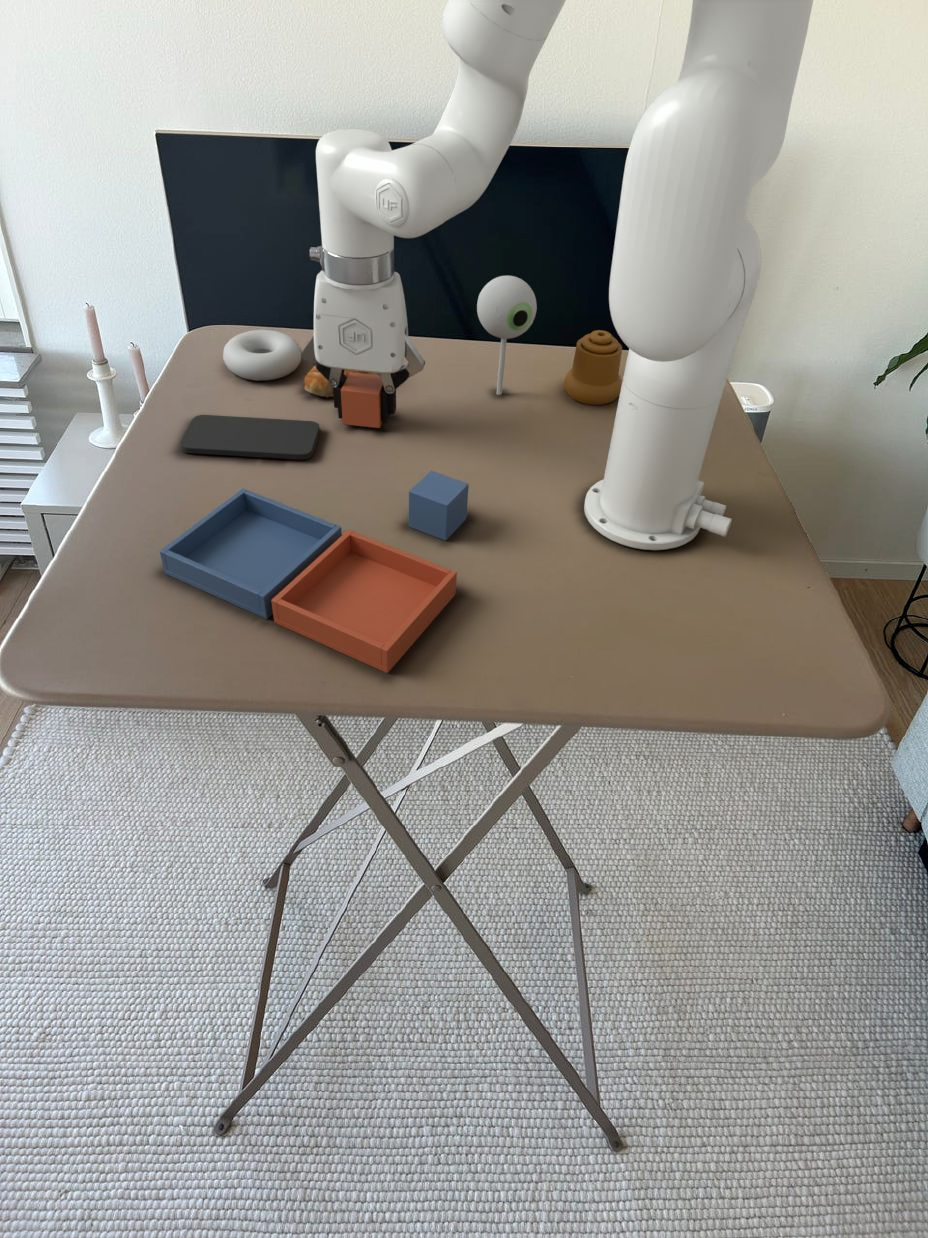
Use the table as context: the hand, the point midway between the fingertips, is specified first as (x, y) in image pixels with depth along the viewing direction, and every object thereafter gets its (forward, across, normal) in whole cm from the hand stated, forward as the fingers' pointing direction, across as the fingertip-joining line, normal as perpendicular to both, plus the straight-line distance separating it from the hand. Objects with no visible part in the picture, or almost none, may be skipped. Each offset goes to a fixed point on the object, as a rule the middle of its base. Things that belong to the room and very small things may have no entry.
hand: (365, 413), depth 106 cm
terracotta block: (0, 0, 0) cm, 0 cm away
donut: (+1, -16, +10) cm, 19 cm away
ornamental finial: (+1, +27, +14) cm, 30 cm away
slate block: (+1, +12, -18) cm, 22 cm away
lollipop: (+1, +15, +10) cm, 18 cm away
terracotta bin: (+1, +8, -33) cm, 34 cm away
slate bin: (+1, -4, -28) cm, 29 cm away
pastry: (+1, -5, +8) cm, 10 cm away
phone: (+1, -12, -8) cm, 14 cm away
